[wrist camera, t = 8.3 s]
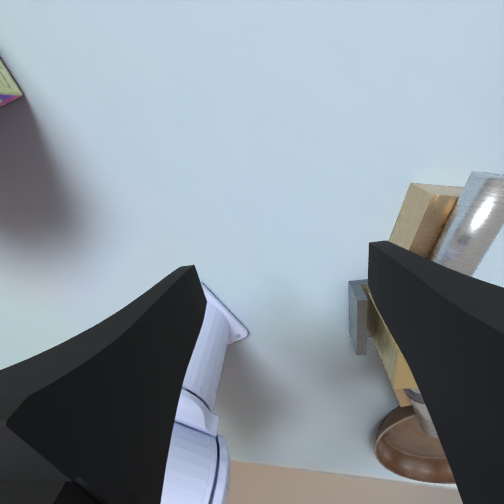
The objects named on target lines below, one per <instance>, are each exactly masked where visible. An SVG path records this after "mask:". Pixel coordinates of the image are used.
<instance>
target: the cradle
mask: <svg viewBox="0 0 504 504" xmlns="http://www.w3.org/2000/svg"><path fill="white" fill-rule="evenodd" d="M369 295H371V293H370V290H369V287H368V279H367V280H357V281H349V333H350V336H351V339H352V342H353V345H354V348H355V351H356V354H357V355H366V340H367V337H371V334H370V332H369V330H368V311H369Z"/></svg>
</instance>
